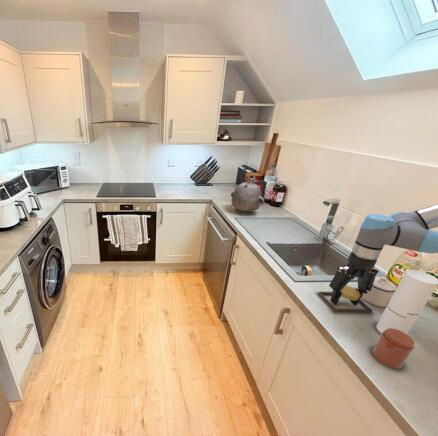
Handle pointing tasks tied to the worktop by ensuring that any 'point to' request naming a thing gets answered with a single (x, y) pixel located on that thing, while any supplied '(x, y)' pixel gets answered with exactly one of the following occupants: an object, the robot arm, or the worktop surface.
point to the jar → (393, 348)
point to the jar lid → (350, 293)
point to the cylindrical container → (407, 301)
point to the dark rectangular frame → (366, 310)
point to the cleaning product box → (260, 186)
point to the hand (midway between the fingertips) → (343, 302)
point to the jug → (247, 196)
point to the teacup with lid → (380, 292)
